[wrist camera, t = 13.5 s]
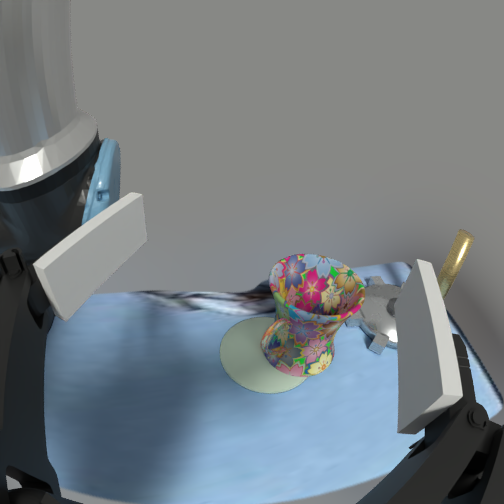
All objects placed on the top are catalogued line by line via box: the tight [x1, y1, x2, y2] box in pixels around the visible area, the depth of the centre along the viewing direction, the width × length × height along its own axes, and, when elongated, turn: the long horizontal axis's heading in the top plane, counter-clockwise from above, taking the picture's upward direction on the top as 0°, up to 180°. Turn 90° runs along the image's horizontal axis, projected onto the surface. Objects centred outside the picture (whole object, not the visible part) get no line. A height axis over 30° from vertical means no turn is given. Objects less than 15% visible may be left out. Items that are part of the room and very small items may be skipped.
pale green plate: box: [220, 317, 307, 394], centre depth 32 cm, size 11×11×1 cm
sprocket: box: [345, 229, 474, 355], centre depth 33 cm, size 15×15×16 cm
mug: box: [260, 254, 365, 377], centre depth 28 cm, size 12×9×11 cm
